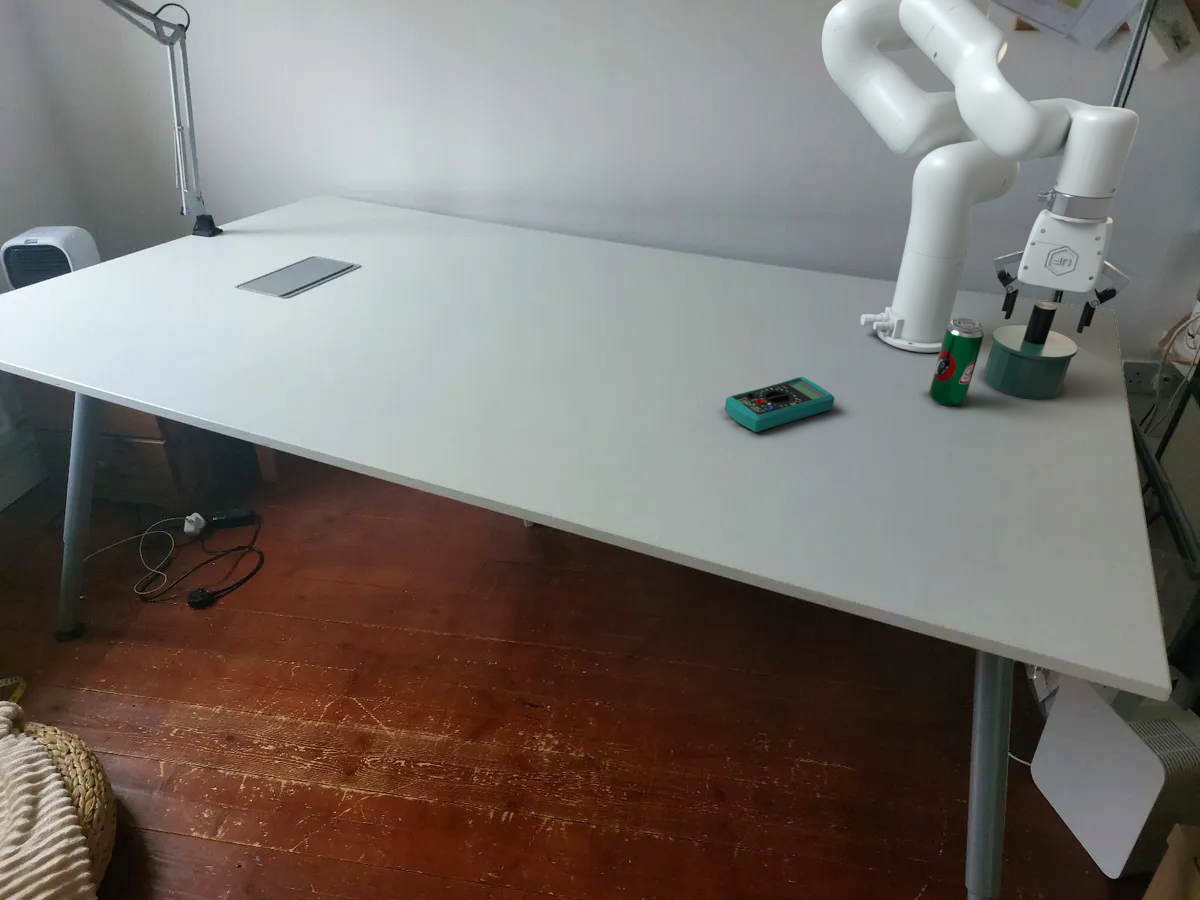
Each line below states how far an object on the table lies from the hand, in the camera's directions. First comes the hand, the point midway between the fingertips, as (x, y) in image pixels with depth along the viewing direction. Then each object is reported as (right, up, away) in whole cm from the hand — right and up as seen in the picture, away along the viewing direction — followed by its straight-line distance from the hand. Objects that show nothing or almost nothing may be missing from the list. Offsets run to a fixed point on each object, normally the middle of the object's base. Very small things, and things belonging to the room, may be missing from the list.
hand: (1043, 323), depth 119 cm
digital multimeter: (-40, -13, -3) cm, 42 cm away
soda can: (-14, -11, +1) cm, 18 cm away
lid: (0, -3, +2) cm, 4 cm away
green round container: (0, -8, +6) cm, 10 cm away
